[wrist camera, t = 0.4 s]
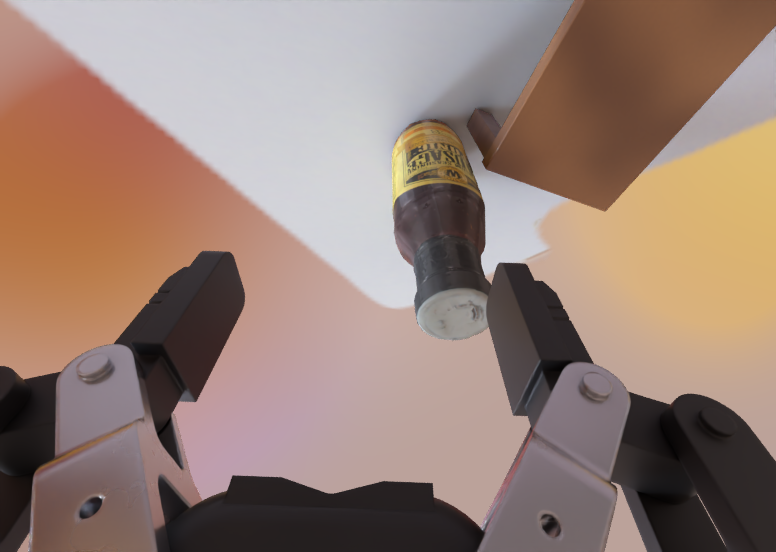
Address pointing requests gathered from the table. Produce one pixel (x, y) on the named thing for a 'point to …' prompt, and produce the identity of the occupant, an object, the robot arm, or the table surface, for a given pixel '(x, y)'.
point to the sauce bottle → (440, 229)
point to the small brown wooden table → (617, 91)
